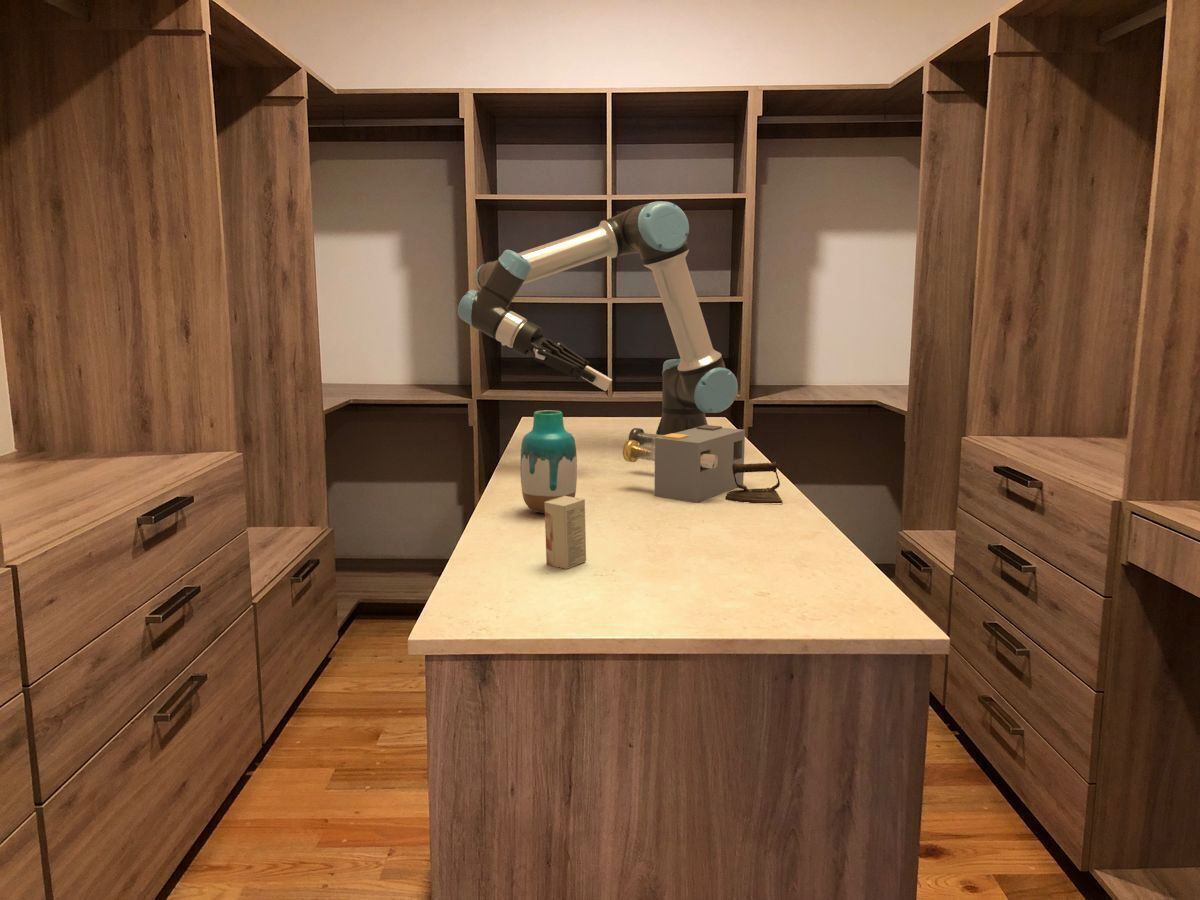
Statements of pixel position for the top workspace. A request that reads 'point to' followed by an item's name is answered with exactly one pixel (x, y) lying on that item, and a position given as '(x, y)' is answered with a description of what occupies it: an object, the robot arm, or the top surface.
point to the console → (697, 462)
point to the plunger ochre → (635, 452)
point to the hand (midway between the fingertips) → (608, 385)
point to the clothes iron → (754, 494)
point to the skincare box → (565, 531)
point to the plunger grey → (643, 437)
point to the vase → (547, 461)
